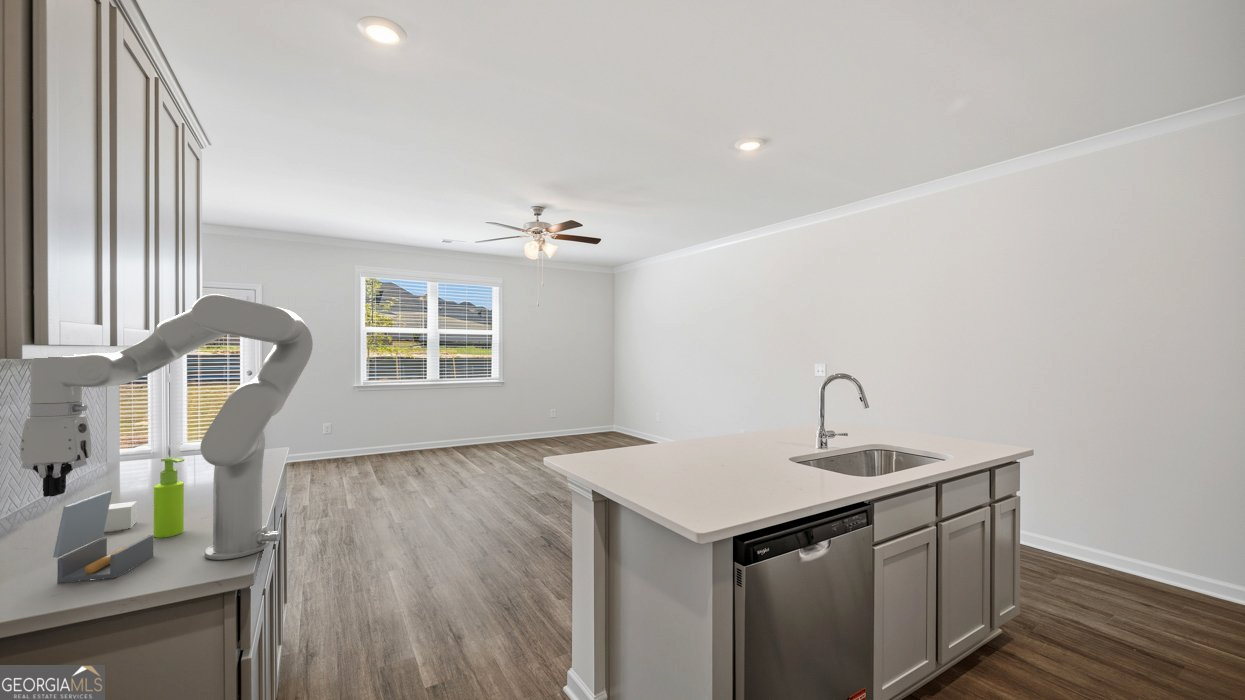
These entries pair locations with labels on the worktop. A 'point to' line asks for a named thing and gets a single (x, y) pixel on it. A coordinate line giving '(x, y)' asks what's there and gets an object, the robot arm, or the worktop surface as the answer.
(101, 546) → the cable duct
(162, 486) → the soap dispenser
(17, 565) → the worktop surface
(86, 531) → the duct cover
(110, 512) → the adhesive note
